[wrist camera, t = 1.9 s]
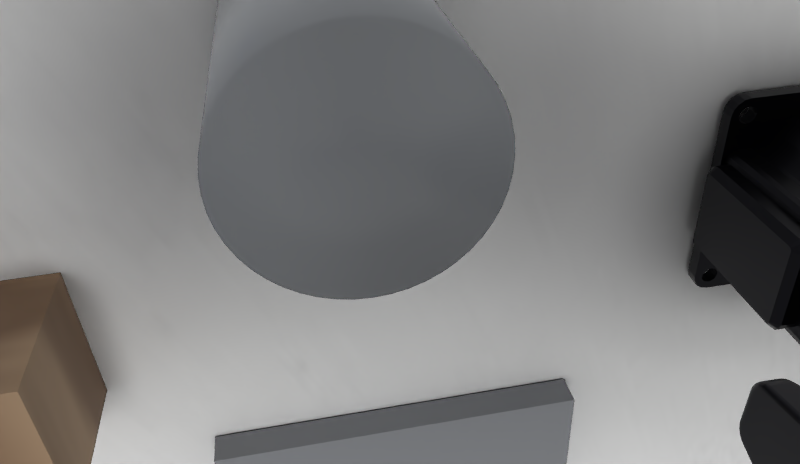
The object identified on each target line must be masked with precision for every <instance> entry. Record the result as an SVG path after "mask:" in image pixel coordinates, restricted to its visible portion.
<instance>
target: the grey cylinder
mask: <svg viewBox="0 0 800 464" xmlns="http://www.w3.org/2000/svg"><path fill="white" fill-rule="evenodd" d="M514 159H515V136H514V131H513V125H512V119H511V116H510V113H509V110H508V107H507V104H506V101H505V99H504V97H503V95H502V93H501V91H500V89H499V87H498V85H497V83H496V82H495V81H494V79H493V78H492V76H491V75H490V74H489V72H488V71H487V69H486V68H485V67H484V65H483V64H482V63H481V61H480V60H479V59H478V57H477V56H476V55H475V54H474V52H473V51H472V50H471V48H470V47H469V46H468V44H467V43H466V42H465V40H464V39H463V38H462V36H461V35H460V34H459V32H458V31H457V30H456V28H455V27H454V26H453V25H452V23H451V22H450V21H449V19H448V18H447V17H446V15H445V14H444V13H443V11H442V10H441V9H440V7H439V6H438V5H437V3H436V2H435V1H434V0H219V1H218V6H217V12H216V19H215V27H214V35H213V43H212V51H211V58H210V66H209V74H208V82H207V90H206V97H205V105H204V113H203V121H202V129H201V136H200V144H199V152H198V180H199V186H200V193H201V197H202V200H203V203H204V206H205V209H206V213H207V215H208V217H209V219H210V221H211V223H212V225H213V227H214V229H215V230H216V232H217V233H218V235H219V236H220V238H221V239H222V241H223V242H224V244H225V245H226V246H227V247H228V248H229V249H230V250H231V251H232V253H233V254H234V255H235V256H236V257H237V258H238V259H239V260H241V261H242V262H243V263H244V264H245V265H247V266H248V267H249V268H250V269H251V270H253V271H254V272H256V273H258V274H259V275H261V276H262V277H264V278H265V279H267V280H269V281H271V282H273V283H275V284H277V285H279V286H282V287H284V288H287V289H290V290H293V291H295V292H298V293H302V294H306V295H311V296H315V297H321V298H330V299H363V298H373V297H378V296H383V295H388V294H392V293H396V292H399V291H402V290H405V289H409V288H411V287H413V286H416V285H418V284H420V283H423V282H425V281H427V280H429V279H431V278H432V277H434V276H436V275H438V274H440V273H441V272H443V271H444V270H446V269H447V268H449V267H450V266H452V265H453V264H454V263H456V262H457V261H458V260H459V259H461V258H462V257H463V256H464V255H465V254H466V253H467V252H469V251H470V250H471V249H472V248H473V247H474V245H475V244H476V243H477V242H478V241H479V240H480V239H481V238H482V237H483V235H484V234H485V233H486V231H487V230H488V228H489V227H490V226H491V224H492V223H493V221H494V220H495V218H496V216H497V214H498V212H499V211H500V209H501V207H502V205H503V202H504V200H505V197H506V195H507V192H508V190H509V186H510V182H511V178H512V174H513V168H514Z"/></svg>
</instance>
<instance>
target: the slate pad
mask: <svg viewBox="0 0 800 464" xmlns="http://www.w3.org/2000/svg"><path fill="white" fill-rule="evenodd" d="M573 406H574V398H573V396H572V394H571V392H570V390H569V389H568V387H567V385H566V383H565V381H564V379H560V380H554V381H548V382H542V383H536V384H530V385H524V386H518V387H512V388H506V389H500V390H494V391H488V392H482V393H476V394H470V395H464V396H458V397H452V398H446V399H440V400H434V401H428V402H422V403H416V404H410V405H404V406H398V407H392V408H386V409H380V410H374V411H368V412H362V413H356V414H350V415H344V416H338V417H332V418H326V419H320V420H314V421H308V422H302V423H296V424H290V425H284V426H278V427H272V428H266V429H260V430H254V431H248V432H242V433H236V434H230V435H224V436H218V437H215V457H214V462H215V464H566V463H567V454H568V446H569V438H570V430H571V422H572V414H573Z"/></svg>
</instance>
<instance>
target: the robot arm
mask: <svg viewBox="0 0 800 464" xmlns="http://www.w3.org/2000/svg"><path fill="white" fill-rule="evenodd" d="M747 107H749V108H748V111H747V113H746V114H744V115H743V116H742V117H739V116H740V114H741V112H742V111H743V110H744V109H745V108H747ZM693 242H694V247H693V251H692V256H691V260H690V265H689V270H688V273H689V276H690V277H691V279H692V280H693V281H694V282H695V284H696V285H697V286H699V287H712V286H719V285H725V284H731V285H732V286H733V287H734V288H735V289H736V290H737V292H738V293H739V294H740V295H741V296H742V297H743V298H744V299H745V300H746V301H747V302H748V304H749V305H750V306H751V307H752V308H753V309H754V310H755V311H756V312H757V313H758V315H759V316H760V317H761V318H762V319H763V320H764V321H765V322H766V323H767V324H768V325H769V326H770V327H772V328H773V329H775V330H776V329H783V328H785V329H786V330H787V331H788V332H789V333H790V335H791V336H792V337H793V338H794V339H795V340H796V341H797V342H798V343H799V344H800V86H793V87H785V88H777V89H769V90H760V91H752V92H744V93H741V94H737V95H736V96H734V97H733V98H731V99H730V100H729V102H728V103H727V104H726V106H725V108H724V111H723V115H722V119H721V124H720V128H719V133H718V137H717V142H716V147H715V151H714V156H713V160H712V165H711V169H710V172H709V174H708V175H707V180H706V184H705V189H704V193H703V198H702V203H701V207H700V212H699V216H698V221H697V226H696V230H695V235H694V239H693ZM708 269H709V270H708ZM706 270H708V271H707V272H706V273H704V272H705V271H706ZM739 429H740V436H741V439H742V442H743V444H744V447H745V449H746V451H747V453H748V455H749V457H750V460H751V462H752V464H800V386H799V385H798V384H796V383H794V382H792V381H790V380H787V379H774V380H768V381H761V382H758V383H756V384H755V385H754V386H753V387H752V389H751V391H750V394H749V397H748V400H747V403H746V406H745V409H744V412H743V414H742V417H741V420H740V428H739Z"/></svg>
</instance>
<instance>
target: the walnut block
mask: <svg viewBox="0 0 800 464" xmlns="http://www.w3.org/2000/svg"><path fill="white" fill-rule="evenodd" d="M106 393H107V389H106V386H105V384H104V381H103V379H102V376H101V374H100V371H99V369H98V366H97V364H96V361H95V359H94V356H93V354H92V351H91V348H90V346H89V343H88V341H87V338H86V336H85V333H84V331H83V328H82V326H81V323H80V321H79V318H78V316H77V313H76V311H75V308H74V306H73V303H72V301H71V298H70V296H69V293H68V291H67V288H66V285H65V283H64V280H63V278H62V275H61V273H53V274H46V275H39V276H32V277H25V278H18V279H11V280H4V281H0V464H91V461H92V456H93V452H94V447H95V443H96V438H97V434H98V429H99V424H100V420H101V415H102V411H103V406H104V402H105V397H106Z"/></svg>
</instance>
